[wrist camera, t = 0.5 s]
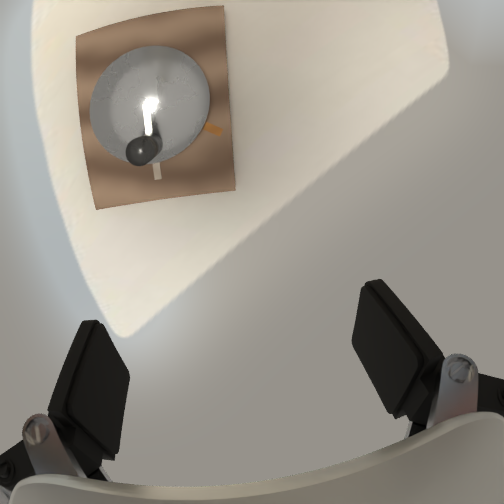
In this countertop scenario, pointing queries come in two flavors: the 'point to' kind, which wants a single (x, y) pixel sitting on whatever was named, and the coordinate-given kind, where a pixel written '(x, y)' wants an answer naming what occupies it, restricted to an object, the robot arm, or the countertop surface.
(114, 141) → the dial
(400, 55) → the countertop surface
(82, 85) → the dial board
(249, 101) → the countertop surface
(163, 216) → the countertop surface
